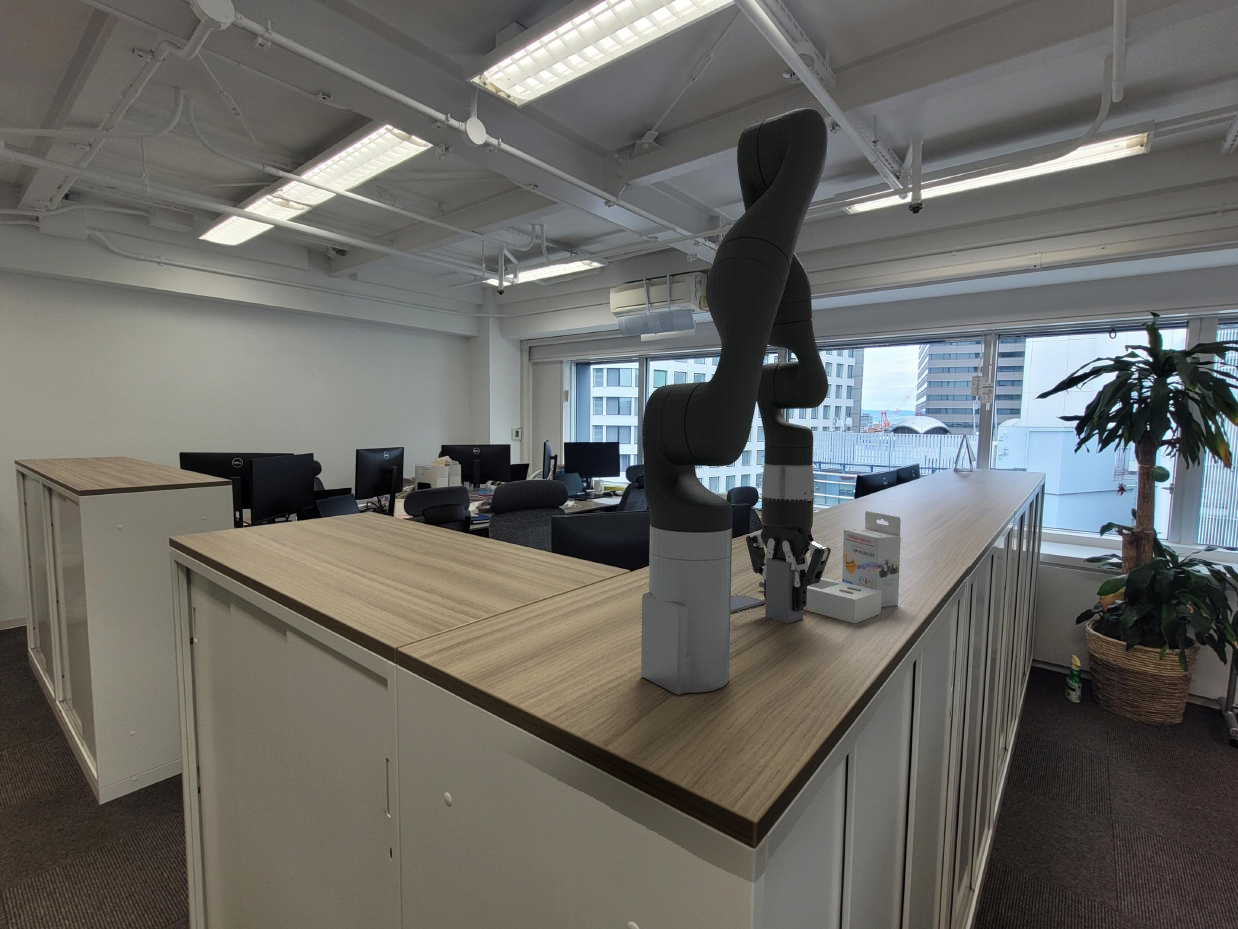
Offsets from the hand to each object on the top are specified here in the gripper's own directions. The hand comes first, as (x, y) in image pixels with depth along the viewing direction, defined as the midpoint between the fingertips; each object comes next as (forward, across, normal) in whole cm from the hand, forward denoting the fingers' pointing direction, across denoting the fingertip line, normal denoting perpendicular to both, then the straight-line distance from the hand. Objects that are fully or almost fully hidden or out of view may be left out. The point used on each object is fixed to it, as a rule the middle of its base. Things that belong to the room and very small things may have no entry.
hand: (784, 606), depth 85 cm
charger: (+2, 0, 0) cm, 2 cm away
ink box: (+2, +3, +20) cm, 20 cm away
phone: (+2, -9, -2) cm, 10 cm away
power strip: (+2, -2, +10) cm, 10 cm away
